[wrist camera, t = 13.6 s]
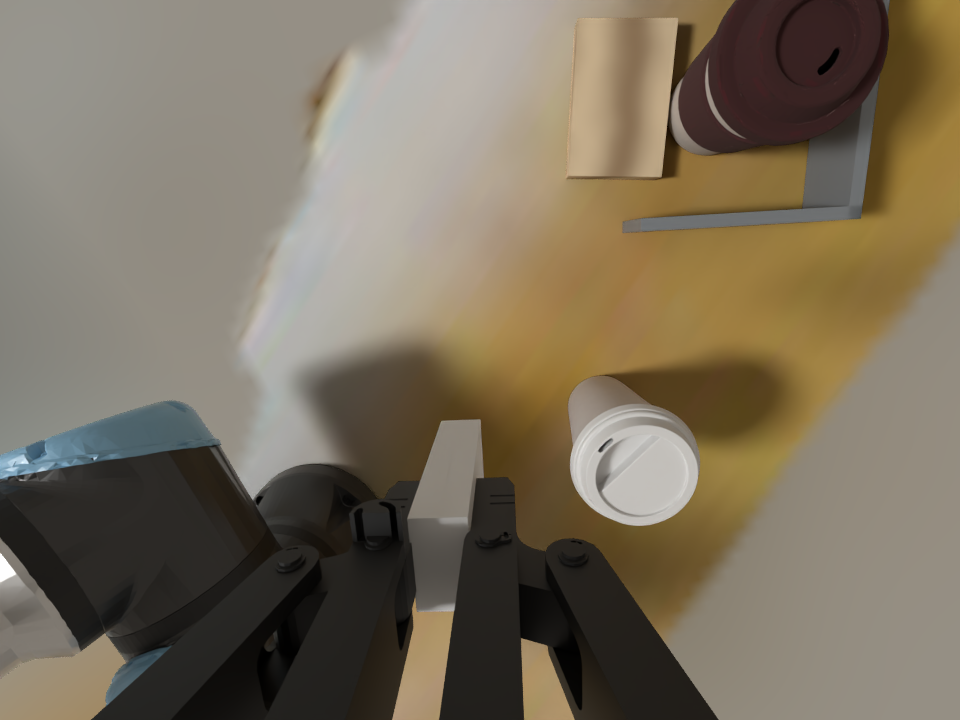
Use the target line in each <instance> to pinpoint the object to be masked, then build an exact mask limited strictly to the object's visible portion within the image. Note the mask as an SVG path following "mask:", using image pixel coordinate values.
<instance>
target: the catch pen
mask: <svg viewBox="0 0 960 720" xmlns="http://www.w3.org/2000/svg"><path fill="white" fill-rule="evenodd" d="M883 2H884V4H885V8H886V12H887V16H888V10H889V2H890V0H883ZM879 77H880V75H879ZM879 77H878V80H877V81H876V83H875V85H874V86H873V88H872V90H871V92H870V93H869V95H868V96H867V98H866V99H865V100H864V102H863V103H862V104H861V105H860V106H859V107H858V108H857V110H856V111H855V112H854V113H853V114H852V115H850V116H849V117H848V118H847V119H846V120H845V121H843V122H842V123H841V124H839V125H838V126H836V127H835V128H833V129H831V130H830V131H828V132H826V133H824V134H821V135H819V136H816V137H814V138H811V139H809V148H808V158H807V168H806V177H805V187H804V196H803V206H802V209H793V210H776V211H759V212H742V213H726V214H709V215H692V216H675V217H659V218H642V219H636V220H630V221H624V222H623V233H629V232H647V231H664V230H681V229H698V228H715V227H733V226H750V225H767V224H784V223H802V222H818V221H833V220H848V219H861V213H862V205H863V198H864V190H865V183H866V175H867V168H868V160H869V153H870V145H871V138H872V130H873V123H874V115H875V108H876V100H877V93H878V85H879Z"/></svg>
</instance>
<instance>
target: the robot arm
mask: <svg viewBox="0 0 960 720" xmlns="http://www.w3.org/2000/svg"><path fill="white" fill-rule="evenodd" d="M220 445H221V443H220V441H219V440H218V439H215V438H214V437H213V435H212V434H211V432H210V431H209V430H208V428H207V427H206V425H205V424H204V423H203V421H202V420H201V418H200V417H199V415H198V414H197V412H196V411H195V410H194V409H193V408H192V407H191V406H189V405H188V404H185V403H183V402H179V401H163V402H158V403H154V404H151V405H147V406H143V407H140V408H137V409H134V410H130V411H127V412H124V413H120V414H117V415H114V416H111V417H108V418H105V419H102V420H99V421H96V422H93V423H90V424H87V425H84V426H81V427H78V428H75V429H72V430H69V431H66V432H63V433H60V434H58V435H55V436H52V437H49V438H47V439H46V440H41V441H38V442H36V443H33V444H30V445H28V446H25V447H21V448H18V449H15V450H12V451H10V452H7V453H5V454H2V455H0V679H1V678H2V677H4V676H5V675H7V674H8V673H9V672H11V671H12V670H13V669H15V668H16V667H18V666H19V665H21V664H22V663H25V662H28V661H31V660H34V659H44V658H57V657H72V656H75V655H76V654H78V653H79V652H81V651H82V650H83V649H85V648H86V647H87V646H89V645H90V644H91V643H92V642H94V641H95V640H96V639H98V638H99V637H100V636H102V635H103V634H104V633H105V634H106V635H107V636H108V638H109V639H110V640H111V642H112V643H113V644H114V646H115V647H116V648H117V650H118V652H119V653H120V654H121V655H122V657H123V658H124V660H125V661H126V664H124V665H123V666H122V667H121V668H120V669H119V670H118V672H116V674H115V676H114V677H113V679H112V683H111V685H110V687H109V689H108V691H107V693H106V703H107V704H106V707H105V708H103V709H102V710H101V711H100V712H99V713H98V714H97V715H96V716H95V717H94V718H93V719H91V720H392V717H393V713H394V709H395V704H396V700H397V696H398V691H399V687H400V683H401V678H402V674H403V670H404V665H405V661H406V657H407V652H408V648H409V644H410V639H411V635H412V631H413V615H412V607H413V603H414V599H415V598H416V607H417V612H430V611H454V616H453V623H452V631H451V638H450V645H449V652H448V660H447V667H446V674H445V682H444V689H443V696H442V703H441V711H440V718H439V720H524V708H523V683H522V658H521V638H523V639H527V640H530V641H534V642H537V643H541V644H544V645H547V646H548V652H549V656H550V658H551V661H552V663H553V666H554V668H555V671H556V673H557V676H558V678H559V681H560V683H561V686H562V688H563V691H564V693H565V696H566V699H567V701H568V704H569V706H570V709H571V711H572V714H573V716H574V719H575V720H718V718H717V717H716V715H715V714H714V713H713V711H712V710H711V708H710V707H709V706H708V704H707V703H706V701H705V700H704V698H703V697H702V696H701V694H700V693H699V691H698V690H697V689H696V687H695V686H694V684H693V683H692V681H691V680H690V678H689V677H688V676H687V674H686V673H685V672H684V670H683V669H682V667H681V666H680V664H679V663H678V661H677V660H676V659H675V657H674V656H673V654H672V653H671V651H670V650H669V649H668V647H667V646H666V644H665V643H664V641H663V640H662V639H661V637H660V636H659V634H658V633H657V631H656V630H655V629H654V627H653V626H652V624H651V623H650V621H649V620H648V619H647V617H646V616H645V614H644V613H643V612H642V610H641V609H640V607H639V606H638V604H637V603H636V602H635V600H634V599H633V597H632V596H631V594H630V593H629V592H628V590H627V589H626V587H625V586H624V584H623V583H622V582H621V580H620V579H619V577H618V576H617V574H616V573H615V572H614V570H613V569H612V567H611V566H610V565H609V563H608V562H607V560H606V559H605V557H604V556H603V555H602V553H601V552H600V550H598V549H597V548H596V547H595V546H594V545H593V544H591V543H589V542H586V541H584V540H579V539H574V538H573V539H562V540H558V541H555V542H553V543H552V544H551V545H550V546H548V548H547V550H546V552H545V551H540V550H537V549H533V548H531V547H529V546H527V545H525V544H524V543H523V542H521V541H520V539H519V538H518V537H517V533H516V516H515V493H514V484H513V483H512V482H511V481H510V480H509V479H508V478H507V477H500V478H484V471H483V454H482V437H481V420H480V419H476V420H447V421H441V423H440V426H439V429H438V432H437V435H436V438H435V440H434V443H433V446H432V449H431V452H430V455H429V458H428V460H427V463H426V466H425V469H424V472H423V475H422V478H421V480H420V481H399V482H398V483H396V484H395V485H394V486H393V487H391V488H390V489H389V490H388V492H387V495H386V497H385V499H377V498H376V497H375V495H374V494H373V493H372V492H371V490H370V489H369V488H368V487H367V486H366V485H365V484H364V483H362V482H361V481H360V480H358V479H357V478H356V477H354V476H352V475H351V474H349V473H347V472H345V471H342V470H340V469H337V468H333V467H329V466H324V465H302V466H297V467H293V468H290V469H287V470H285V471H283V472H281V473H280V474H278V475H276V476H275V477H274V478H273V479H271V480H270V481H269V482H268V483H267V484H266V485H265V486H264V487H263V488H262V489H261V490H260V491H259V493H258V494H257V495H256V496H255V498H254V499H253V500H252V499H251V497H250V495H249V494H248V492H247V490H246V489H245V487H244V486H243V484H242V482H241V481H240V479H239V477H238V475H237V474H236V472H235V470H234V469H233V467H232V465H231V464H230V462H229V460H228V459H227V457H226V455H225V454H224V452H223V450H222V448H221V447H220Z"/></svg>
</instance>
